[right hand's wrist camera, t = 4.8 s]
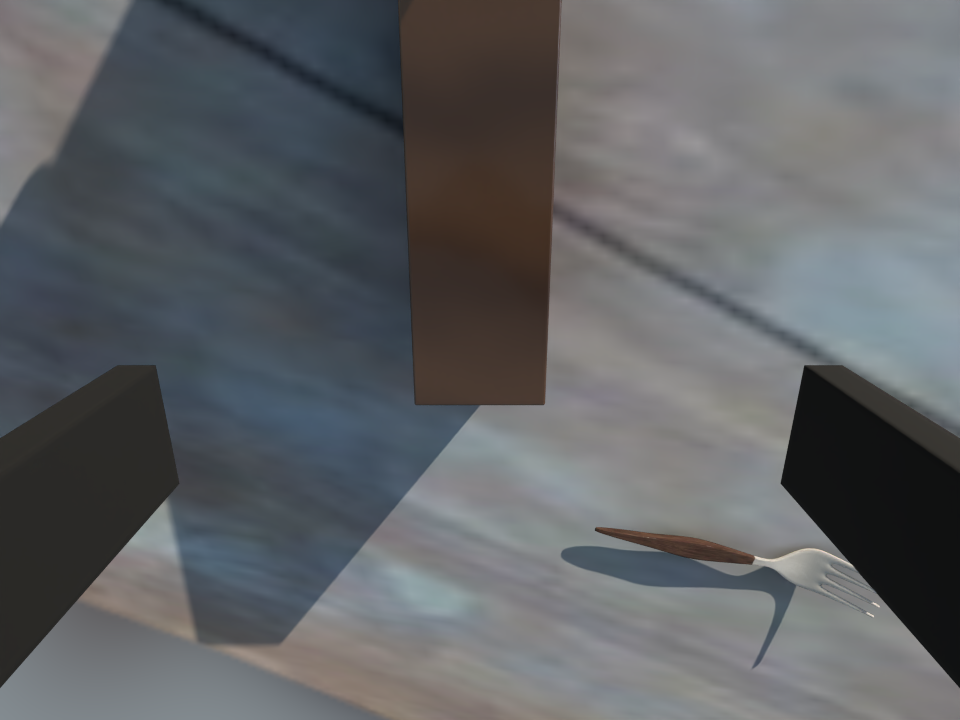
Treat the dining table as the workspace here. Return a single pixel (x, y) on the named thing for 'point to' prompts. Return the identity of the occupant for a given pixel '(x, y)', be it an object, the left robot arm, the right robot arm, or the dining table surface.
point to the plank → (479, 194)
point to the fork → (756, 561)
